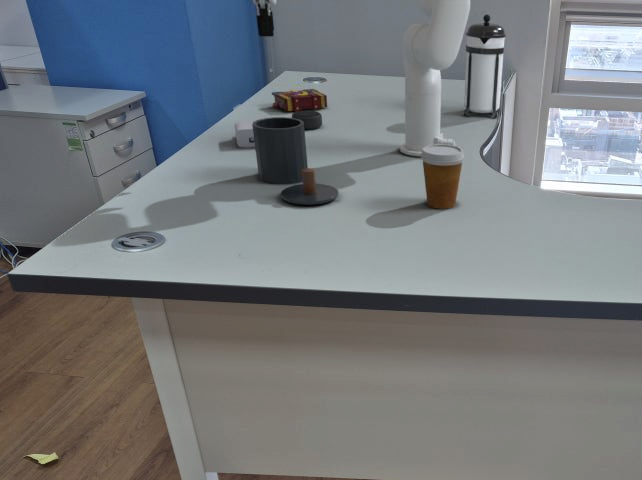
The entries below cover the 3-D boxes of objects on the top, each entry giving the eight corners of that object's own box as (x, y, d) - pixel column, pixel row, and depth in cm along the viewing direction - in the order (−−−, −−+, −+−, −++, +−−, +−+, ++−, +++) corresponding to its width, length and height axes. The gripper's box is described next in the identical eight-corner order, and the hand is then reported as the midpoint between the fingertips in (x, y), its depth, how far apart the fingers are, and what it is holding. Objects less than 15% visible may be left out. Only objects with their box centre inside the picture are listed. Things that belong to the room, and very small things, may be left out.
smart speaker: (325, 124, 202) (324, 110, 200) (318, 131, 195) (317, 117, 193) (297, 122, 203) (296, 109, 201) (289, 129, 196) (287, 115, 193)
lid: (336, 187, 153) (335, 160, 149) (340, 206, 142) (339, 177, 139) (281, 189, 150) (278, 162, 147) (281, 208, 140) (278, 179, 136)
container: (307, 168, 164) (303, 116, 157) (309, 183, 154) (304, 128, 148) (259, 170, 162) (253, 117, 155) (258, 184, 152) (251, 129, 145)
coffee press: (514, 116, 221) (523, 16, 204) (476, 120, 213) (482, 17, 196) (484, 105, 232) (489, 10, 216) (447, 110, 225) (449, 11, 208)
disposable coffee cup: (431, 214, 140) (432, 157, 134) (413, 200, 147) (413, 145, 140) (470, 208, 144) (473, 153, 137) (450, 194, 151) (452, 141, 144)
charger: (268, 132, 192) (272, 146, 180) (235, 134, 189) (238, 147, 177) (266, 115, 189) (270, 128, 177) (233, 117, 187) (235, 129, 175)
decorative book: (328, 108, 220) (327, 93, 217) (282, 113, 212) (281, 97, 210) (314, 102, 228) (312, 87, 225) (269, 106, 220) (268, 90, 217)
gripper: (274, -55, 132) (283, 38, 142) (275, -57, 146) (283, 28, 156) (236, -57, 131) (248, 38, 140) (240, -58, 145) (251, 28, 154)
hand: (266, 33), depth 148 cm, fingers open, 9 cm apart
